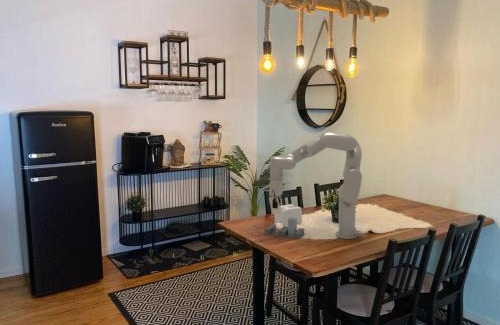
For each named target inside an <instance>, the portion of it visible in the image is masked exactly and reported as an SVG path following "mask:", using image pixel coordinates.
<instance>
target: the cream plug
mask: <svg viewBox="0 0 500 325" xmlns="http://www.w3.org/2000/svg"><path fill="white" fill-rule="evenodd" d="M275 197H276V196H275ZM275 199H276V198H275ZM268 201H269V204H270V208H271V212H272V215H275V214H279V213H281V208H280V204H279V200H278V197H277V202H278V208H277V209H276V208H272V199H271V197H270V196H269V197H268Z"/></svg>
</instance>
